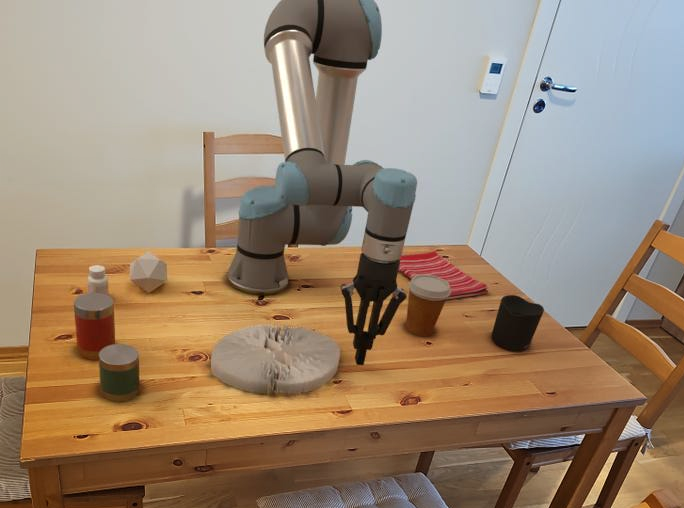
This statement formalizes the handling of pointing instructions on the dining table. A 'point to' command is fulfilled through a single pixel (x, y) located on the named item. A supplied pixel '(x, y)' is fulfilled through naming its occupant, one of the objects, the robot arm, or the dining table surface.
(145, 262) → the die
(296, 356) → the spiky fractal disc
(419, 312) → the disposable coffee cup
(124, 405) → the dining table surface
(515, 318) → the pen holder
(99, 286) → the pill bottle
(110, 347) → the bean tin
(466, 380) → the dining table surface
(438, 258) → the dish towel
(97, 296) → the tomato tin
